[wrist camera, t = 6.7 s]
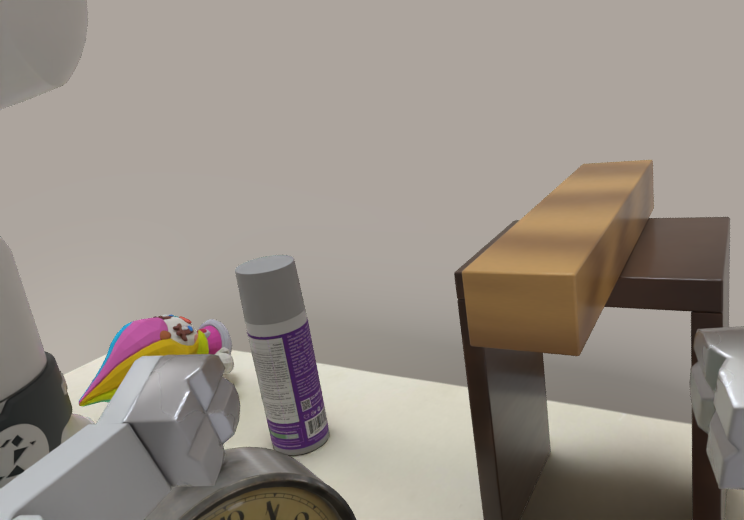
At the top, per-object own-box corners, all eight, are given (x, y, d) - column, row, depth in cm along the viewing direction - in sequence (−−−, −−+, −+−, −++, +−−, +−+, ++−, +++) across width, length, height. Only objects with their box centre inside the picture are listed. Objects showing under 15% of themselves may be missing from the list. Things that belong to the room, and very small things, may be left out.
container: (319, 416, 54) (286, 250, 49) (337, 442, 49) (303, 262, 45) (266, 435, 52) (228, 265, 48) (280, 462, 48) (239, 279, 44)
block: (579, 357, 21) (574, 274, 20) (469, 347, 23) (460, 271, 22) (654, 208, 37) (652, 159, 36) (585, 210, 39) (582, 163, 39)
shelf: (486, 545, 36) (453, 272, 32) (534, 449, 45) (513, 220, 40) (720, 607, 30) (723, 280, 26) (727, 482, 38) (730, 216, 34)
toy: (261, 317, 59) (107, 358, 48) (254, 403, 62) (107, 460, 51) (203, 286, 65) (54, 316, 54) (199, 366, 68) (56, 410, 57)
